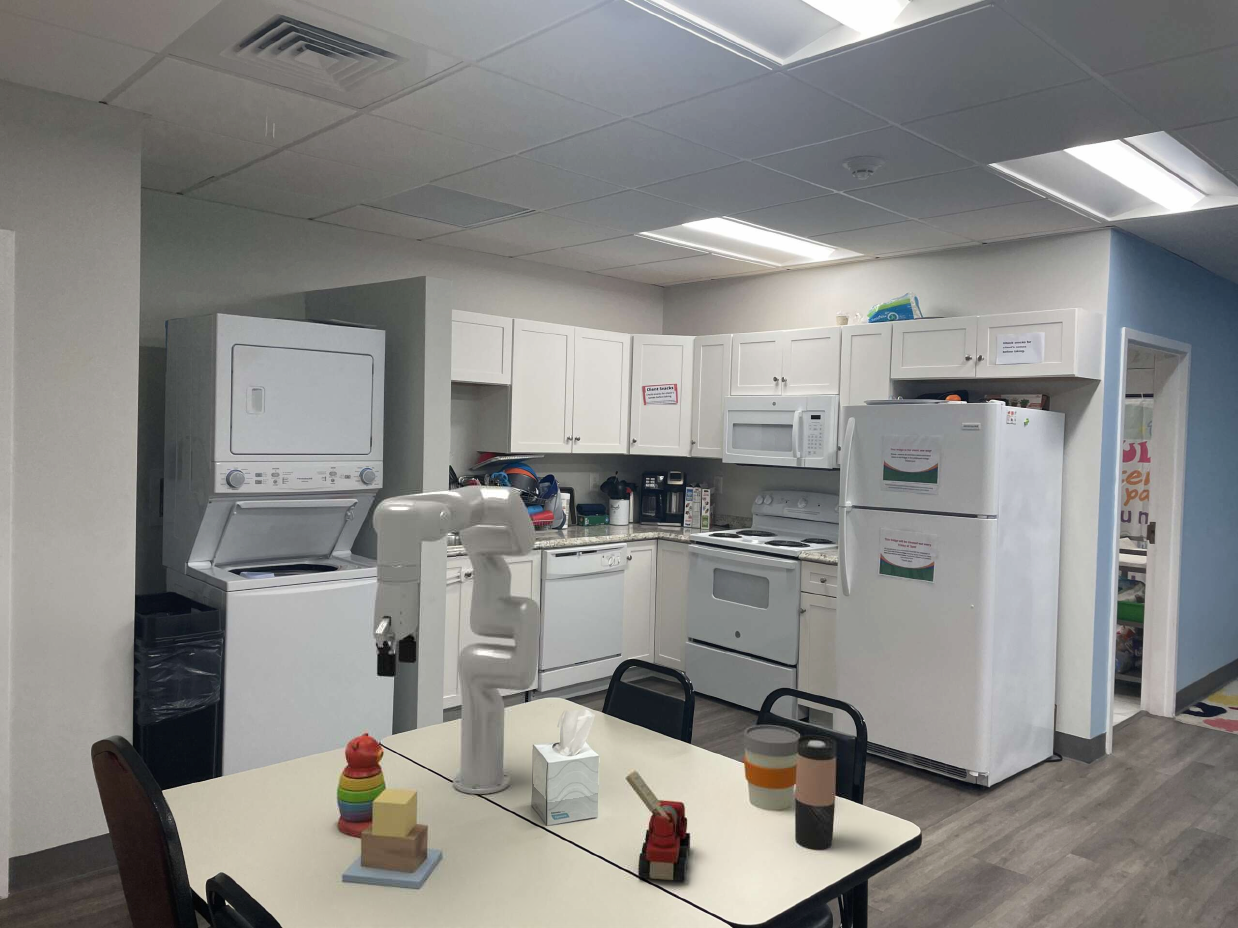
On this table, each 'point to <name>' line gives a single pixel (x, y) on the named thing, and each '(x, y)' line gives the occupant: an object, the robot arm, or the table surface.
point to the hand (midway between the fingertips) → (397, 668)
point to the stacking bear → (359, 784)
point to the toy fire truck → (662, 836)
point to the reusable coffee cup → (770, 765)
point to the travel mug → (815, 791)
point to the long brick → (395, 850)
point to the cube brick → (394, 813)
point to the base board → (392, 873)
